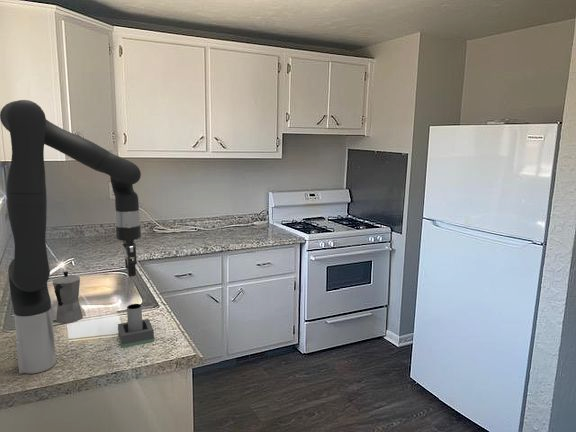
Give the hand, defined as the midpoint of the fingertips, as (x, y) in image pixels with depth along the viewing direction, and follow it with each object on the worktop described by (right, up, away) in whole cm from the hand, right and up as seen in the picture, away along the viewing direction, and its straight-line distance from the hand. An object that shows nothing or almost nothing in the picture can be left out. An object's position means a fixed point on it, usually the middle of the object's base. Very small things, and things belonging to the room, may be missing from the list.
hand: (130, 272), depth 142 cm
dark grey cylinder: (+1, -21, +2) cm, 22 cm away
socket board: (+1, -22, +2) cm, 22 cm away
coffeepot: (-28, -20, +15) cm, 38 cm away
